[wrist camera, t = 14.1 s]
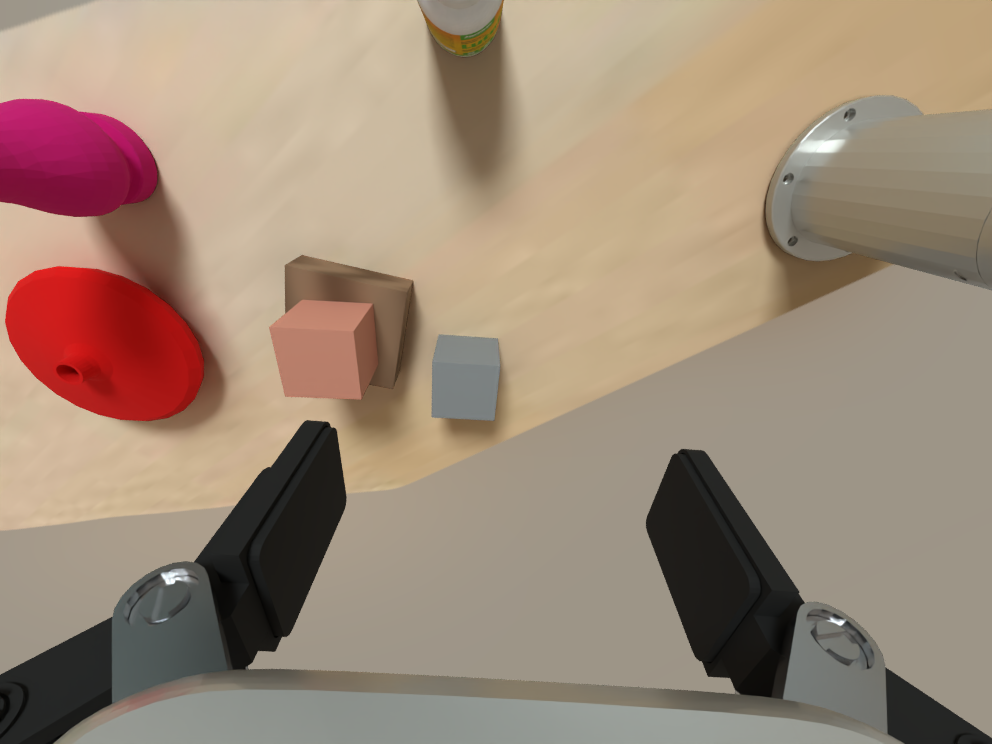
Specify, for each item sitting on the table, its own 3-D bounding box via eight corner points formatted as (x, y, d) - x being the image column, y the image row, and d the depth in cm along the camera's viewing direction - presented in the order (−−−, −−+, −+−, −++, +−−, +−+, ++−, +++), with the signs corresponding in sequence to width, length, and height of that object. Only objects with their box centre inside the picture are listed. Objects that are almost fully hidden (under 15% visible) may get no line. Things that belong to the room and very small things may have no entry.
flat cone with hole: (251, 381, 42) (211, 421, 35) (126, 420, 43) (67, 465, 37) (142, 233, 34) (68, 251, 28) (-3, 288, 36) (-103, 317, 30)
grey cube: (497, 338, 40) (500, 366, 35) (492, 388, 43) (494, 420, 38) (438, 334, 40) (432, 361, 34) (437, 384, 43) (431, 417, 37)
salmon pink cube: (372, 303, 34) (353, 331, 29) (378, 364, 37) (361, 399, 32) (302, 299, 34) (269, 327, 28) (313, 361, 37) (285, 396, 31)
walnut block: (413, 279, 37) (406, 292, 34) (400, 369, 42) (393, 388, 38) (303, 254, 36) (284, 265, 32) (302, 350, 40) (285, 368, 37)
